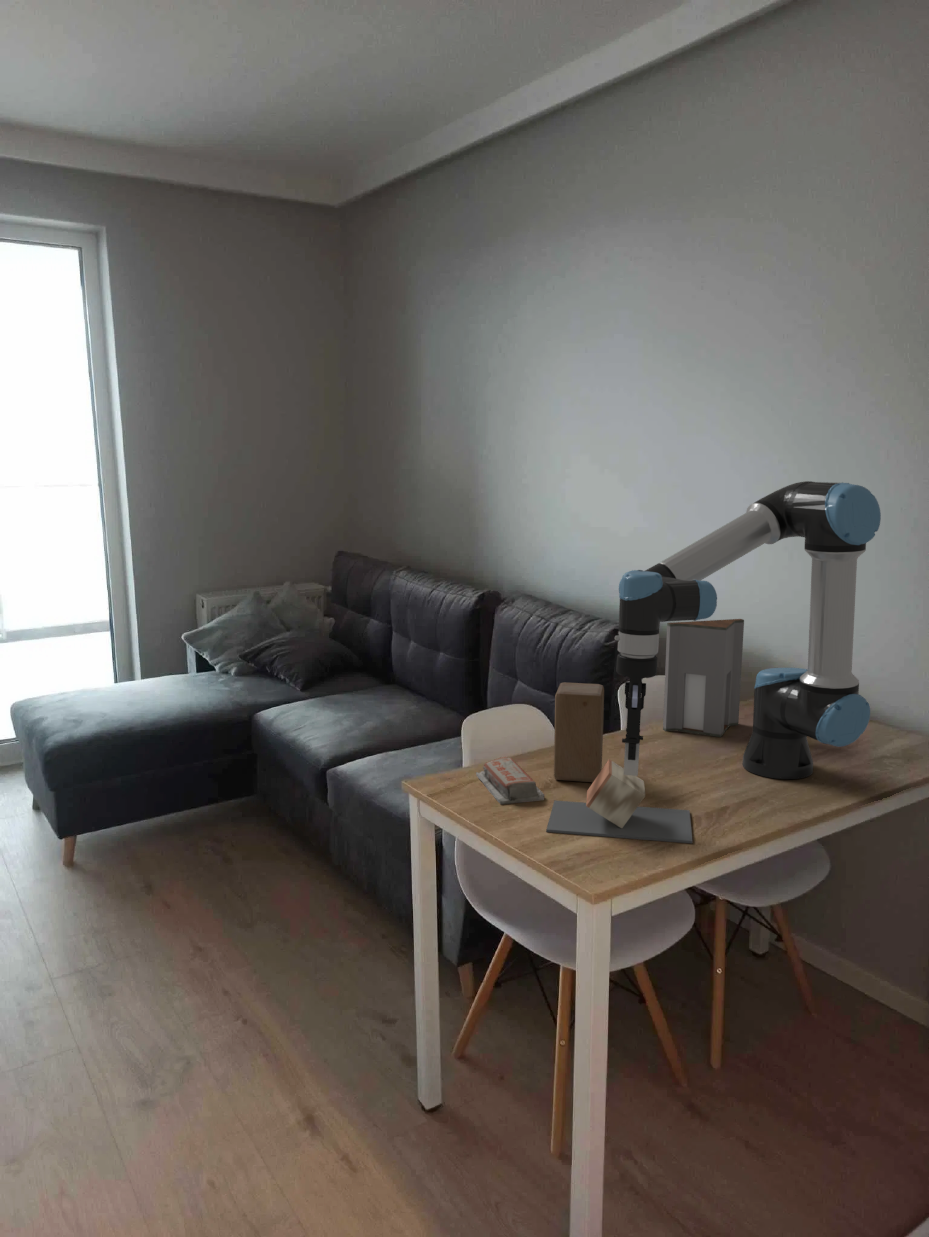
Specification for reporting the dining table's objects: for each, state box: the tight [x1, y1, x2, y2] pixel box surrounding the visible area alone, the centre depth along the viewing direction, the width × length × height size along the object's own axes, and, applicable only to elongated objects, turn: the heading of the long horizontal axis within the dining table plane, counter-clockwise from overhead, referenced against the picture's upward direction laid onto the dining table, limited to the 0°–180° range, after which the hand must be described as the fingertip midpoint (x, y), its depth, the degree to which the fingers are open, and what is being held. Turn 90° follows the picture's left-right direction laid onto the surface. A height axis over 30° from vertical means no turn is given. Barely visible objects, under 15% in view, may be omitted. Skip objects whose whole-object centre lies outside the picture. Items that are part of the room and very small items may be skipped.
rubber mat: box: [545, 800, 693, 844], centre depth 184 cm, size 27×15×1 cm, turn 79°
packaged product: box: [475, 756, 545, 805], centre depth 202 cm, size 18×5×10 cm
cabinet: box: [662, 618, 745, 738], centre depth 238 cm, size 21×10×28 cm, turn 106°
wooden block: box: [553, 681, 605, 783], centre depth 208 cm, size 10×10×20 cm
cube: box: [585, 758, 646, 828], centre depth 182 cm, size 8×8×8 cm
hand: (630, 773), depth 181 cm, fingers closed
